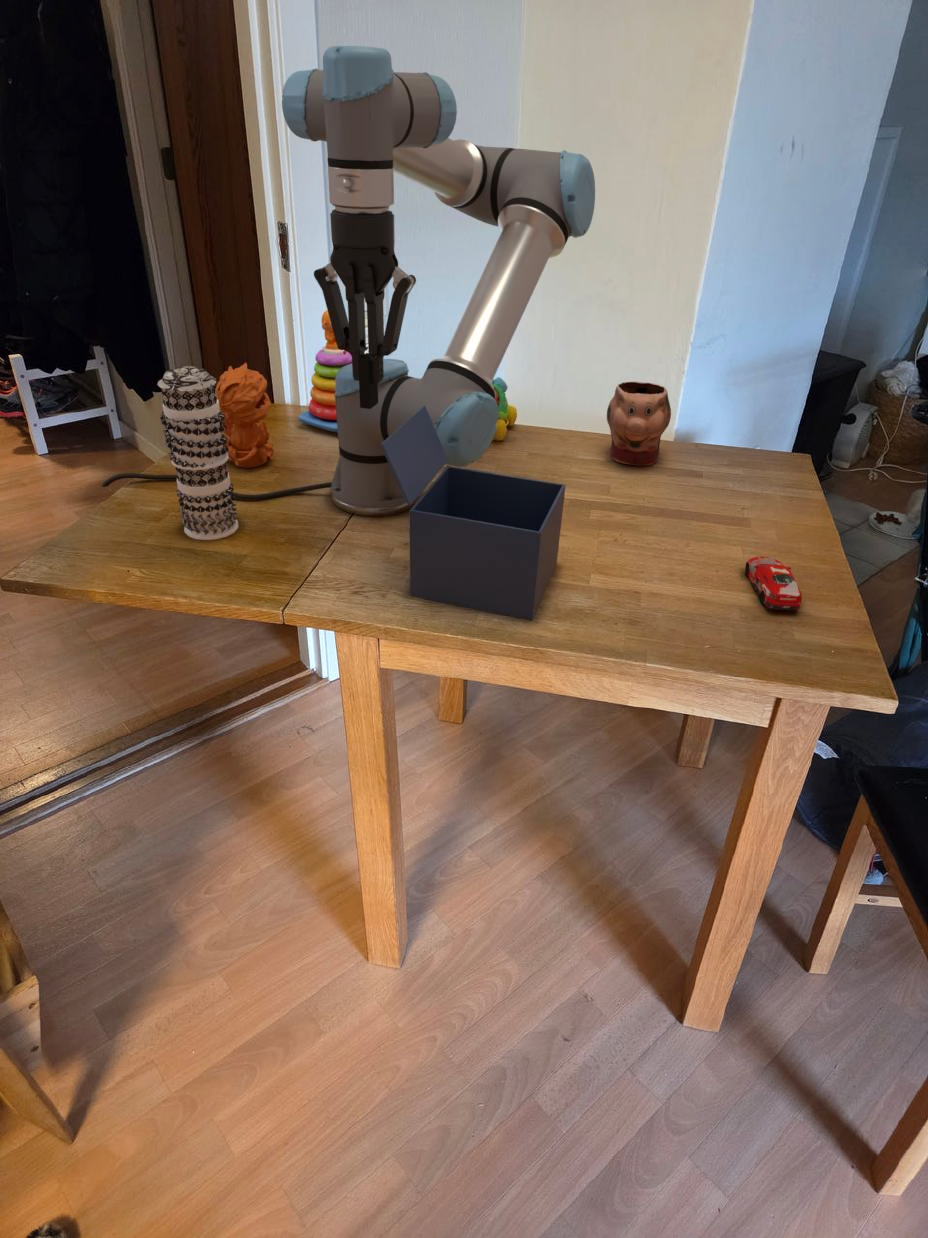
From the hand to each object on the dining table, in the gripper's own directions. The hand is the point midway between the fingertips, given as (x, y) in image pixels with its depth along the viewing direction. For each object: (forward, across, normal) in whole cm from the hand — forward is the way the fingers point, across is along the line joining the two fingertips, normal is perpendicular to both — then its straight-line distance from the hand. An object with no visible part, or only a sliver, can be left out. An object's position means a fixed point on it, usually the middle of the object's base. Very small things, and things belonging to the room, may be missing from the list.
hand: (369, 405), depth 105 cm
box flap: (+6, +7, 0) cm, 9 cm away
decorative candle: (+24, -28, 0) cm, 37 cm away
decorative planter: (+24, +32, +57) cm, 70 cm away
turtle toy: (+24, -2, +56) cm, 61 cm away
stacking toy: (+24, -30, +50) cm, 63 cm away
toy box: (+24, +18, 0) cm, 30 cm away
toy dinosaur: (+24, -36, +26) cm, 51 cm away
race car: (+24, +58, +12) cm, 64 cm away
